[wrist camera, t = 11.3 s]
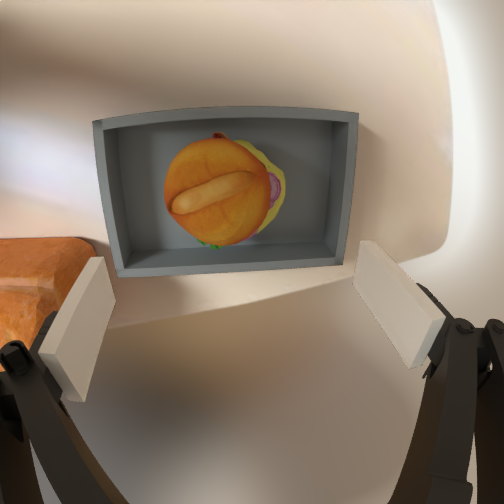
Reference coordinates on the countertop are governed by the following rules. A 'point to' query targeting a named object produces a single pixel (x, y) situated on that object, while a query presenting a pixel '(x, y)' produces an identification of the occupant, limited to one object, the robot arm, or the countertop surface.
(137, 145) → the box
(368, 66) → the countertop surface
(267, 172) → the cheeseburger
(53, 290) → the bread
